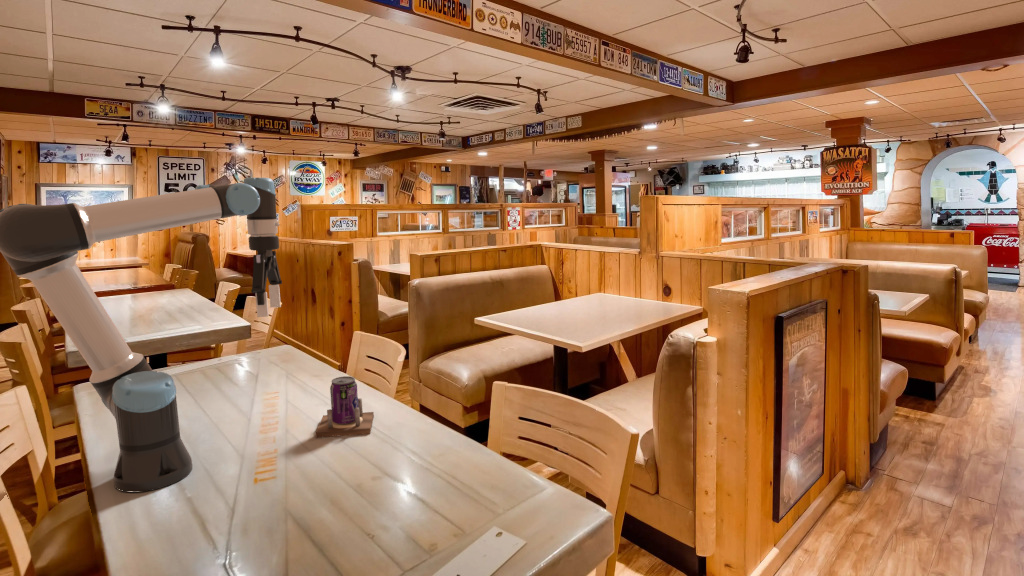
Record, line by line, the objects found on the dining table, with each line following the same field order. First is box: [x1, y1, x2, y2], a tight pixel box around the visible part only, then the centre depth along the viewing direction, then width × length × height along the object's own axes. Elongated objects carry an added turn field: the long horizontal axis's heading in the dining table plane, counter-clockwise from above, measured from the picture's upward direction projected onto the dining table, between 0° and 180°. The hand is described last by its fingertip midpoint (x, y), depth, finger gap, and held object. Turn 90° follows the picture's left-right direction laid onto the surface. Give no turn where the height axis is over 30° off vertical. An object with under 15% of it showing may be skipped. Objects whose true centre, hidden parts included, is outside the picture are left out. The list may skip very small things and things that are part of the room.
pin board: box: [315, 397, 375, 439], centre depth 155 cm, size 12×14×6 cm
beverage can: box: [329, 375, 359, 425], centre depth 154 cm, size 7×7×12 cm
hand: (269, 311), depth 156 cm, fingers open, 13 cm apart
